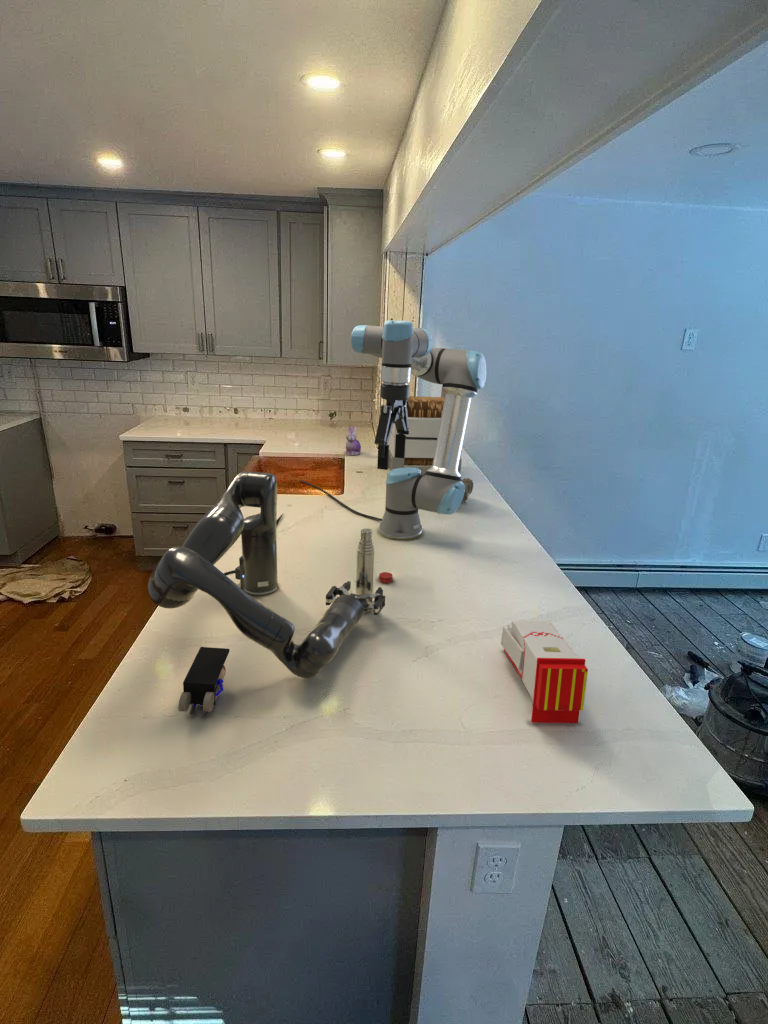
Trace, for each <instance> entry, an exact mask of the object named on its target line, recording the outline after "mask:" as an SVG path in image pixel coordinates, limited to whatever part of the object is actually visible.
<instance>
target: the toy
mask: <svg viewBox="0 0 768 1024" xmlns="http://www.w3.org/2000/svg"><path fill="white" fill-rule="evenodd" d="M500 645H501V646H502V648H503V652H504V654H505V655H506V657H507V658H508V660H509V661H510V663H511V664H512V666H513V668H514V669H515V671H516V672H517V674H518V676H519V677H520V679H521V680H522V683H523V685H524V686H525V688H526V690H527V692H528V694H529V696H530V697H531V699H532V708H531V719H530V722H531V723H532V724H579V719H580V712H583V711H584V706H585V697H586V689H587V680H588V671H589V669H588V667H587V666H586V659H585V658H580V657H579V656H578V655H577V654H576V652H575V651H574V650H573V648H572V647H571V646H570V645H569V644H568V642H567V641H566V640H565V638H564V637H563V636H562V634H561V633H560V632H559V631H558V630H557V628H556V627H555V626H554V624H553V623H552V622H551V621H549V620H548V621H545V620H540V621H539V620H511V622H508V623H507V626H502V632H501V638H500Z"/></svg>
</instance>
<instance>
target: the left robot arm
mask: <svg viewBox="0 0 768 1024" xmlns="http://www.w3.org/2000/svg"><path fill="white" fill-rule="evenodd" d="M243 507H249V508H259V509H260V511H259V513H256V514H252V515H248V516H246V517H244V515H243V512H242V510H241V508H243ZM277 517H278V481H277V477H276V476H275V475H274V474H273V473H270V472H260V471H247V470H246V471H241V472H239V473H238V474H237V475H236V476H235V477H234V478H233V480H232V481H231V482H230V483H229V485H228V487H227V489H226V490H225V492H224V493H223V494H222V495H221V496H220V497H219V499H217V501H216V502H215V503H214V505H213V506H212V507H211V508H210V509H208V511H206V512H205V513H204V514H203V516H202V517H200V519H199V520H198V521H197V523H196V524H195V526H194V527H193V528H192V530H191V531H190V533H189V534H188V535H187V538H186V539H185V541H184V542H183V544H182V545H181V546H173V547H170V548H169V549H167V550H166V551H165V552H164V553H163V555H162V556H161V558H160V560H159V561H158V563H157V564H156V566H154V568H153V570H152V572H150V573H151V574H150V575H149V578H148V581H147V592H148V596H149V598H150V600H151V602H153V603H154V604H155V605H156V606H158V607H160V608H162V609H171V610H172V609H178V608H181V607H183V606H185V605H186V604H188V603H189V602H190V601H191V600H192V599H193V598H194V596H195V595H196V594H197V592H198V591H201V592H203V593H205V594H207V595H209V596H210V597H212V598H213V599H214V600H215V601H216V602H217V603H219V605H220V606H221V607H222V608H223V609H224V611H225V612H226V613H227V615H228V617H229V618H230V620H231V621H232V622H233V624H234V626H235V627H236V628H237V630H239V632H240V633H242V635H243V636H245V637H246V638H248V639H249V640H251V641H252V642H254V643H256V644H258V645H259V646H261V647H263V648H265V649H266V650H267V651H269V652H271V653H272V654H273V655H274V656H275V657H276V658H277V660H279V661H280V662H281V663H282V665H283V666H285V667H286V668H287V670H288V671H289V672H291V673H292V674H293V675H294V676H296V677H298V678H300V679H305V680H309V679H313V678H315V677H316V676H317V675H319V673H321V671H322V670H323V669H325V668H326V666H327V665H328V664H329V663H330V662H332V660H333V659H334V657H335V656H336V655H337V653H339V650H340V647H341V644H342V643H343V642H344V641H345V640H346V638H347V637H348V636H349V635H350V634H351V633H352V632H353V630H354V629H355V627H356V626H357V624H358V623H359V622H360V620H361V619H362V617H363V616H364V612H365V613H368V612H367V611H369V612H372V615H373V616H378V615H379V614H380V613H381V612H382V610H383V609H384V608H385V606H386V595H384V589H383V587H381V586H378V588H377V589H376V590H375V592H374V593H373V594H371V595H370V594H365V595H356V593H353V592H352V593H350V592H349V591H350V590H351V588H352V582H351V581H350V580H347V581H346V582H344V583H343V584H342V585H341V586H339V587H338V586H336V585H332V586H331V588H330V589H329V590H328V591H327V593H326V594H325V606H329V607H327V609H326V611H325V612H324V614H323V616H322V617H321V618H320V619H319V620H318V621H317V623H316V624H315V626H314V628H313V629H312V630H311V631H310V632H309V633H308V634H307V636H306V637H305V638H304V639H303V640H302V641H301V642H300V644H297V643H296V642H294V641H293V637H294V635H295V630H296V627H295V625H294V624H293V622H291V621H290V620H288V619H287V618H285V617H283V616H282V615H281V614H279V613H277V612H276V611H274V610H272V609H270V608H268V607H267V606H265V605H264V604H262V603H261V602H259V601H257V600H256V599H255V598H253V597H252V596H264V595H269V594H272V593H274V592H276V591H277V590H278V589H279V583H278V581H279V580H278V550H277V549H278V547H277V540H278V539H277V526H276V521H277V520H278V518H277ZM240 537H241V539H240V540H241V556H240V557H239V558H238V562H239V563H238V564H239V565H238V566H237V567H235V568H234V569H233V570H229V571H225V572H222V571H221V569H218V567H216V566H215V565H216V564H217V562H219V560H221V558H223V556H224V555H226V553H227V552H228V551H229V550H230V549H231V548H232V547H233V545H234V544H235V543H236V542H237V540H239V538H240ZM234 574H235V575H234ZM229 575H234V576H235V580H238V581H239V584H240V586H239V585H238V584H237V583H236V582H234V581H233V580H232V579H231V578H230V577H228V576H229ZM366 599H367V601H366Z"/></svg>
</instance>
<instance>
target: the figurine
mask: <svg viewBox="0 0 768 1024" xmlns="http://www.w3.org/2000/svg"><path fill="white" fill-rule="evenodd" d="M356 430H357V425H353V426H352V428H351V426H350V425H348V426H347V433H346V435H345V439H346V440H347V441H346V442H345V452H344V453H345V455H346V456H357V455H360V454H361V449H362V446H361V443H360V441H359V440H358V439H357V438H358V437H357V434H356Z"/></svg>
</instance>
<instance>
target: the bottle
mask: <svg viewBox="0 0 768 1024" xmlns="http://www.w3.org/2000/svg"><path fill="white" fill-rule="evenodd" d="M372 537H373V530H372V529H371V528H361V529H360V538H359V541H358V545H357V549H356V569H355V570H356V574H355V575H356V577H355V594H356V595H365V594H370V595H371V594H374V592H373V591H374V569H375V568H374V567H375V547H374V546H375V545H374V542H373V539H372ZM366 601H367V599H366ZM364 613H370V611H367V612H364ZM364 613H363V614H364Z"/></svg>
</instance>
